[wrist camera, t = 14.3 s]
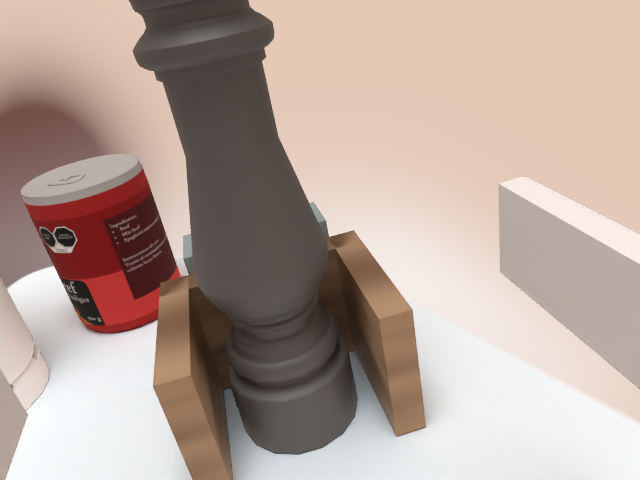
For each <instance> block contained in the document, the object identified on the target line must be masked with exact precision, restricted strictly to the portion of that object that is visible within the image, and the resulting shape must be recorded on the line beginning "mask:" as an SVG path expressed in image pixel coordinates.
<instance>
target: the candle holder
mask: <svg viewBox="0 0 640 480" xmlns="http://www.w3.org/2000/svg"><path fill="white" fill-rule="evenodd" d="M129 1H130V3H131V5H132V8H133V9H134V11H135V12H138V13H139V14H141V15H142V17H143V19H144V21H145V25H146V30H145V32H144V34H143V35H142V36H141V38H140V39H139V41H138V42H137V44H136V46H135V47H134V49H133V53H134V56H135V59H136V61H137V63H138V64H139V66H140V67H143V68H144V69H147V70H151V71H154V73H155V76H156V79H157V80H158V81H160V82H163V85H164V88H165V91H166V95H167V98H168V101H169V104H170V108H171V111H172V114H173V117H174V121H175V124H176V127H177V131H178V134H179V137H180V140H181V144H182V147H183V150H184V153H185V156H186V166H187V182H188V196H189V210H190V223H191V224H190V225H191V241H192V257H193V273H194V276H195V279H196V282H197V285H198V286H199V288H200V289H201V291H202V292H203V293H204V295H205V296H206V297H207V298H208V299H209V300H210V301H211V302H212V303H213V304H214V305H215V306H216V307H218V308H219V309H220V310H221V311H222V312H224V313H225V314H227V315H228V320H229V321H230V322H231V323H232V324H233V327H232V329H231V333H230V335H229V337H228V339H227V341H226V351H227V361H228V362H229V364H230V366H229V378H230V386H231V389H232V392H233V395H234V398H235V401H236V404H237V407H238V410H239V413H240V416H241V419H242V422H243V424H244V427H245V430H246V432H247V433H248V435H249V436H250V437H251V439H252V440H253V441H254V443H255V444H256V445H258V446H260V447H262V448H264V449H267V450H269V451H271V452H273V453H280V454H301V453H304V452H308V451H311V450H315V449H318V448H322V447H324V446H325V445H327V444H328V443H329V442H331V441H332V440H334V439H335V438H337V437H338V436H340V435H341V434H343V432H344V431H345V429H346V428H347V426H348V425H349V424H350V422H351V421H352V419H353V418H354V417H355V411H356V405H357V393H356V388H355V383H354V378H353V372H352V367H351V362H350V356H349V352H348V349H347V346H346V344H345V341H344V339H343V337H342V336H341V335H340V334H339V333H340V330H339V327H338V325H337V322H336V320H335V317H334V315H333V313H331V312H330V311H329V310H327V309H326V308H324V307H323V306H322V305H321V304H320V303H318V302H317V301H318V298H319V293H318V289H319V287H320V284H321V281H322V278H323V275H324V272H325V270H326V267H327V264H328V255H329V250H328V245H327V240H326V238H325V236H324V234H323V231H322V229H321V227H320V225H319V223H318V221H317V219H316V217H315V214H314V212H313V210H312V208H311V206H310V204H309V202H308V200H307V198H306V196H305V194H304V191H303V189H302V187H301V185H300V183H299V180H298V178H297V176H296V174H295V172H294V169H293V167H292V165H291V163H290V161H289V159H288V157H287V154H286V153H285V150H284V148H283V146H282V144H281V142H280V139H279V137H278V133H277V128H276V124H275V119H274V115H273V110H272V106H271V101H270V96H269V92H268V88H267V82H266V78H265V73H264V69H263V64H262V60H264V59H265V58H266V55H265V50H264V47H266V46H268V45H269V43H270V42H271V41H272V40H273V39H274V28H273V23H272V21H270V20H269V19H268V18H266V17H265V16H263V15H262V14H260V13H258V12H255V11H254V10H253V9H252V8H250V6H249V1H248V0H129Z"/></svg>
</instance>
